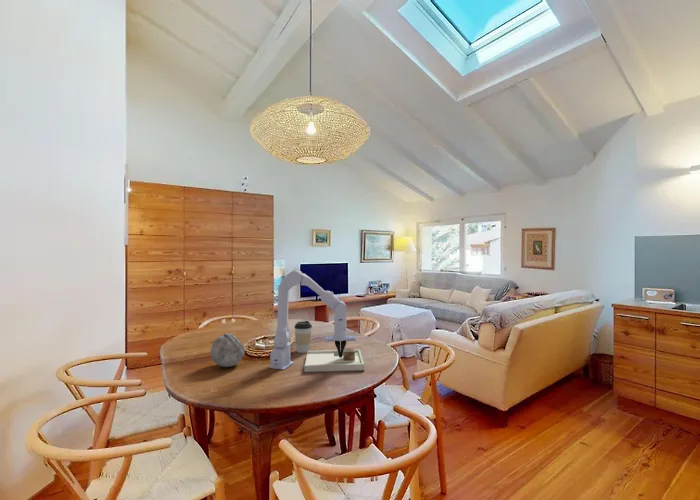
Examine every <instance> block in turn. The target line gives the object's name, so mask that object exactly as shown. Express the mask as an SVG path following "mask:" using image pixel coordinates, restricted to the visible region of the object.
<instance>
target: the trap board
mask: <svg viewBox="0 0 700 500" xmlns="http://www.w3.org/2000/svg"><path fill="white" fill-rule="evenodd" d="M354 350H355V360H351V361H344V350H343V354H342V357H341V358H339V353H338V350H337V349H332V350H331V349H327V350H323V349H322V350H310V351H307V354H306V357H305V358H306V359H305V362H304V365H303V373H305V374H307V373H333V372H334V373H339V372H340V373H342V372H346V373H347V372H364V371H365V363H364V358H363V356H362V355H363V354H362V352H361V349H354ZM340 352H341V349H340Z"/></svg>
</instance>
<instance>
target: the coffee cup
mask: <svg viewBox="0 0 700 500" xmlns="http://www.w3.org/2000/svg"><path fill="white" fill-rule="evenodd" d="M312 327H313V326H312V324H311V323H310V321H309V320H305V321H298V322H296V324H294V327H293V328H294V336H295V337H294V338H295V345H296V352H297V353H300V354H306V353H307V351H311V343H312Z"/></svg>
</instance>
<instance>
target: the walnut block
mask: <svg viewBox="0 0 700 500" xmlns="http://www.w3.org/2000/svg"><path fill="white" fill-rule="evenodd" d="M355 350H356V349H355V348H354V347H351V348H346V347H345V348H344V361H351V360H355Z"/></svg>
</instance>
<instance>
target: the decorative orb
mask: <svg viewBox="0 0 700 500" xmlns="http://www.w3.org/2000/svg"><path fill="white" fill-rule="evenodd" d="M245 351H246V349H245V347H244V345H243V343H242V342H241V341H240V340H239V338H238V337H237V336H236V335H234V333H228V332H225V333H224V334H223V335H222V334H221V335H218V337H216V338H215V340H214V341H213V343H212V344H211V347H210V357H211V360H212V361H213V363H215V364H216V365H217V366H219V367H223V368H231V367H233V366H236V365H237V364H238V363H240V362H241V361H242V358H244V356H245Z"/></svg>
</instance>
